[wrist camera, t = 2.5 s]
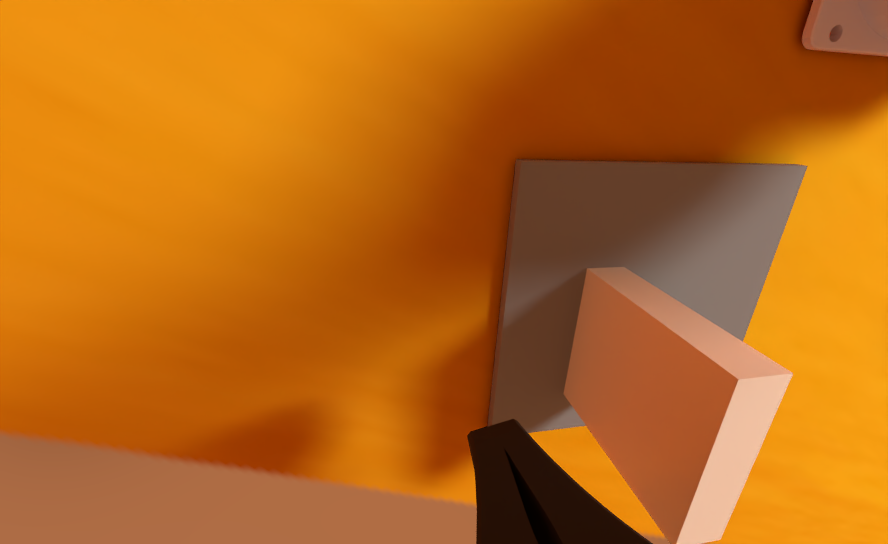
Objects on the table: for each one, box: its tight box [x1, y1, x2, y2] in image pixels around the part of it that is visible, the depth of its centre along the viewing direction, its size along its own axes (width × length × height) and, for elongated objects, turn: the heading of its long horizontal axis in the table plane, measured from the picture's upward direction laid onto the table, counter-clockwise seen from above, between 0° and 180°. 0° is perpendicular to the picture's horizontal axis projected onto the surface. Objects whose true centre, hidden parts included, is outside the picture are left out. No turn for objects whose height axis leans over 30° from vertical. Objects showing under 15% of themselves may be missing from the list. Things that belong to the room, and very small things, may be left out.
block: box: [564, 267, 793, 544], centre depth 14 cm, size 2×6×7 cm, turn 177°
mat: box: [488, 159, 807, 433], centre depth 18 cm, size 12×12×1 cm
